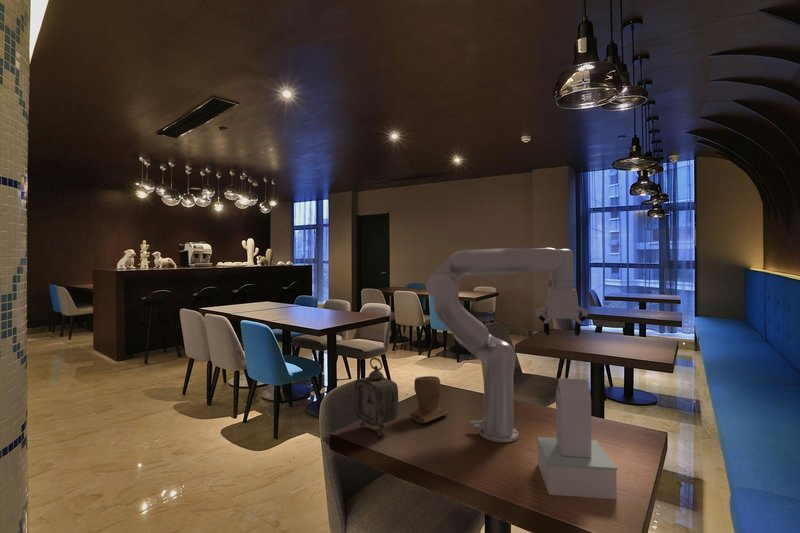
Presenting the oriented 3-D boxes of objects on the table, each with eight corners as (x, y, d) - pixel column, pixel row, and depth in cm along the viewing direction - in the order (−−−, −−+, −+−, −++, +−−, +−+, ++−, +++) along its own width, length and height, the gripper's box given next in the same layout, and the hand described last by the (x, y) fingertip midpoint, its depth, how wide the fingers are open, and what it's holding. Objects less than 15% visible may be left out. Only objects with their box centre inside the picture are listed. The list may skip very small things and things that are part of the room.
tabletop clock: (355, 427, 146) (354, 356, 146) (376, 420, 152) (375, 352, 152) (379, 440, 135) (378, 363, 135) (400, 433, 140) (400, 359, 140)
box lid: (548, 466, 102) (548, 463, 102) (537, 439, 118) (537, 437, 118) (617, 470, 100) (617, 467, 100) (596, 442, 115) (596, 440, 115)
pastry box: (549, 494, 102) (548, 466, 102) (537, 464, 118) (537, 439, 118) (616, 499, 100) (616, 470, 100) (596, 467, 115) (596, 442, 115)
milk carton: (591, 458, 105) (591, 383, 105) (561, 456, 106) (561, 382, 106) (584, 446, 112) (583, 375, 112) (556, 444, 113) (556, 374, 113)
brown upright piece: (428, 408, 164) (428, 370, 164) (452, 416, 156) (452, 376, 156) (401, 418, 153) (401, 378, 153) (425, 427, 145) (425, 384, 145)
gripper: (537, 285, 140) (537, 336, 140) (591, 285, 137) (592, 337, 137) (533, 284, 147) (534, 332, 147) (585, 284, 145) (585, 333, 145)
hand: (562, 335), depth 142 cm, fingers open, 9 cm apart
